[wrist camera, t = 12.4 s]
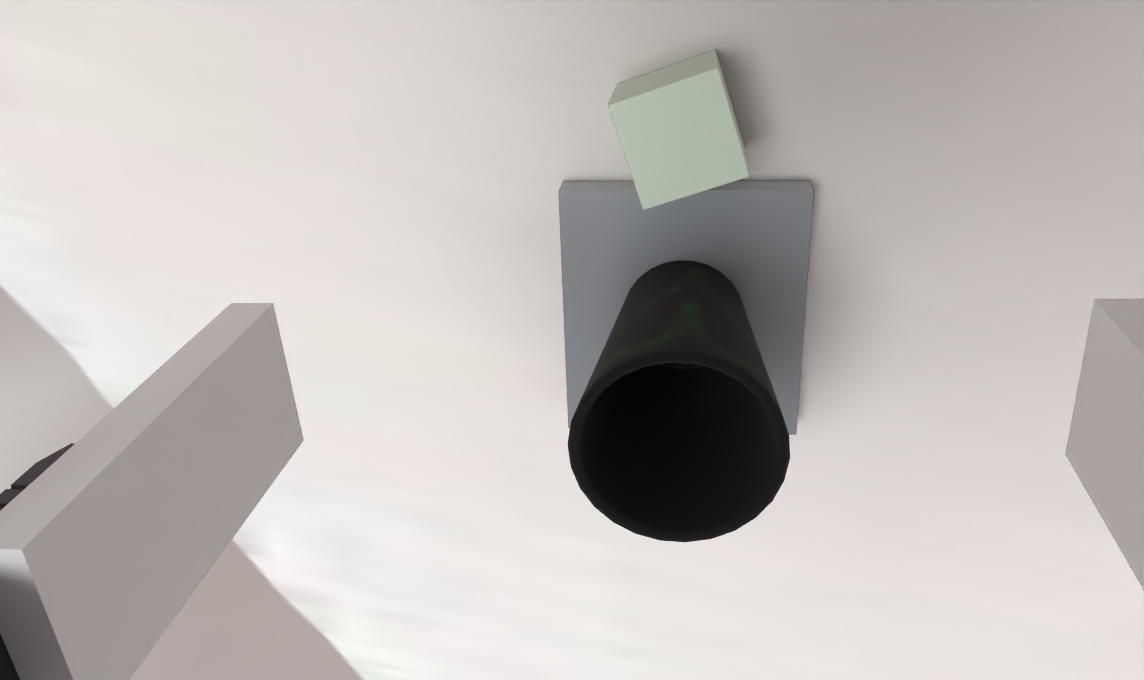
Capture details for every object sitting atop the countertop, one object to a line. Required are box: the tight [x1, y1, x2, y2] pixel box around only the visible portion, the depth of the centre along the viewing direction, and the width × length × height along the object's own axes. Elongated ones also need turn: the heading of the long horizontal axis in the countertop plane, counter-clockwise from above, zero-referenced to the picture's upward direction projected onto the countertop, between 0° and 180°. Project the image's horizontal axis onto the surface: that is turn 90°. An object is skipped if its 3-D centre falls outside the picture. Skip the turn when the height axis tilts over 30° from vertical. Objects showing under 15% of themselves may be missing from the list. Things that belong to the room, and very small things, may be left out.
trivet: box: [559, 180, 814, 434], centre depth 45 cm, size 12×11×2 cm
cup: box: [568, 260, 790, 542], centre depth 39 cm, size 8×8×12 cm
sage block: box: [608, 49, 749, 210], centre depth 40 cm, size 4×4×5 cm
